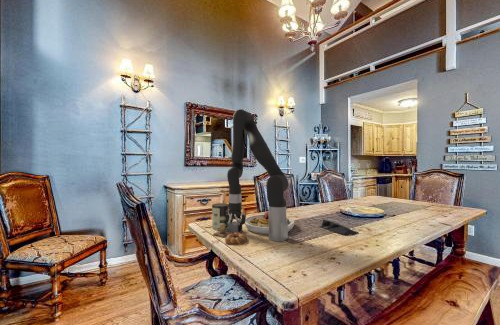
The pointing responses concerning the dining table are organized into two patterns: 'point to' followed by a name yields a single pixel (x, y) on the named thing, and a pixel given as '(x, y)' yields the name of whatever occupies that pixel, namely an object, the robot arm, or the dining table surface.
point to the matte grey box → (233, 227)
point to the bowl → (263, 223)
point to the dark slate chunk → (337, 228)
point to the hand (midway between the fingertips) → (235, 230)
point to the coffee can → (219, 215)
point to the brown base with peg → (222, 231)
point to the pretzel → (235, 238)
